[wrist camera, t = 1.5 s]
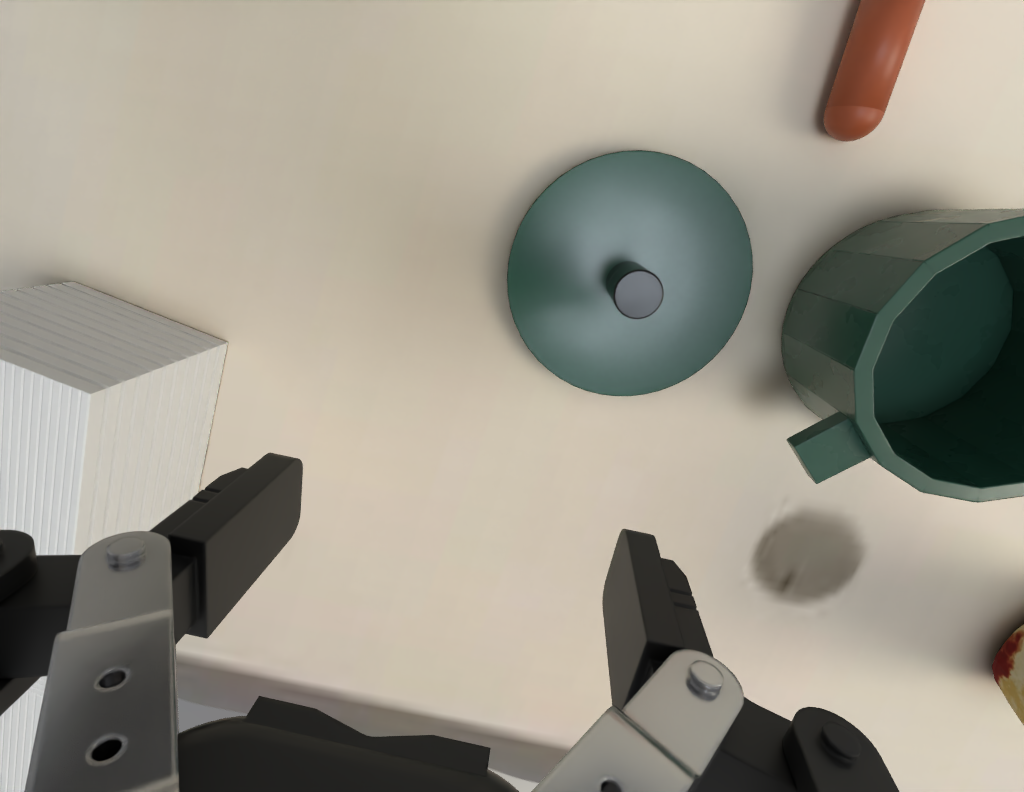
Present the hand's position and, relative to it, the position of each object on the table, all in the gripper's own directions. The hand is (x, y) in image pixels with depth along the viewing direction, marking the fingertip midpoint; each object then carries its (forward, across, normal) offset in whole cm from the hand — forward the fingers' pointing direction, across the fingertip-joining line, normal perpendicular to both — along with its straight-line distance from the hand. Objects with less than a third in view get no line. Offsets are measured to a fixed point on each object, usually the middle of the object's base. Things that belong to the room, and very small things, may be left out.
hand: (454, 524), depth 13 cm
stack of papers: (+21, +27, +19) cm, 39 cm away
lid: (+20, -5, -4) cm, 22 cm away
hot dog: (+21, -14, -18) cm, 31 cm away
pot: (+21, -21, -5) cm, 30 cm away
